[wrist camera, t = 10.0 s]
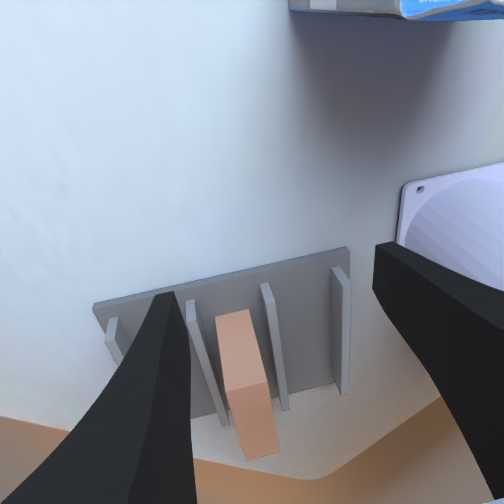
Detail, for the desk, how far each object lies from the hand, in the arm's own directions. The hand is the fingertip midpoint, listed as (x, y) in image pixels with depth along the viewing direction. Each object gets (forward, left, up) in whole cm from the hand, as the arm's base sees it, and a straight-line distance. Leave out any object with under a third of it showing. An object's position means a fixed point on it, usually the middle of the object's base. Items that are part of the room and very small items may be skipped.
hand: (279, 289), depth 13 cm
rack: (+2, +13, -9) cm, 16 cm away
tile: (+2, +13, -9) cm, 16 cm away
